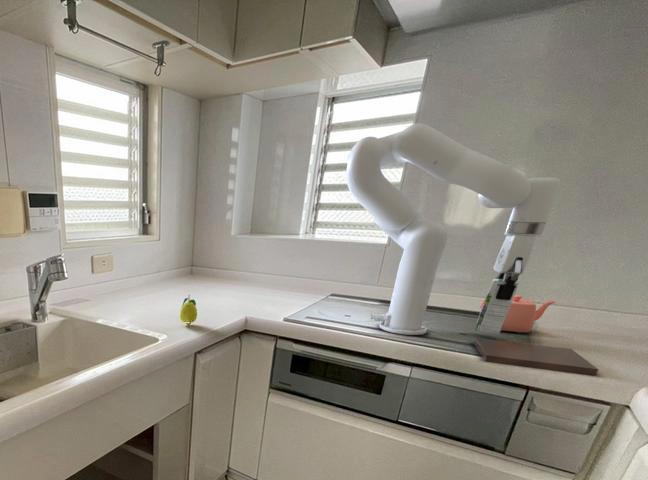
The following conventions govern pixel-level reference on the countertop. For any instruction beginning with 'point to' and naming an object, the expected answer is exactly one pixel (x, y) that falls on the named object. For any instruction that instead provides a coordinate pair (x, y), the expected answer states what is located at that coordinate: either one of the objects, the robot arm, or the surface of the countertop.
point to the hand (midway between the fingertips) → (499, 296)
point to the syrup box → (493, 310)
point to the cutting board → (534, 356)
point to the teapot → (522, 314)
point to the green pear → (188, 311)
